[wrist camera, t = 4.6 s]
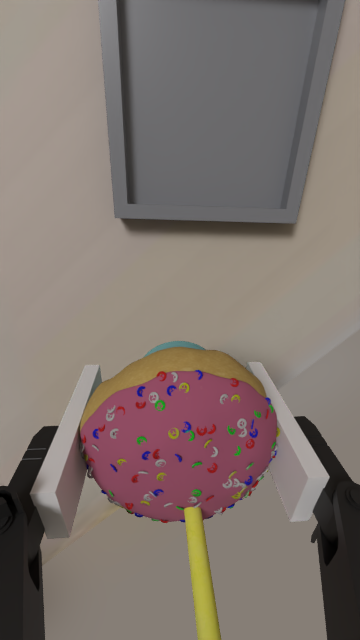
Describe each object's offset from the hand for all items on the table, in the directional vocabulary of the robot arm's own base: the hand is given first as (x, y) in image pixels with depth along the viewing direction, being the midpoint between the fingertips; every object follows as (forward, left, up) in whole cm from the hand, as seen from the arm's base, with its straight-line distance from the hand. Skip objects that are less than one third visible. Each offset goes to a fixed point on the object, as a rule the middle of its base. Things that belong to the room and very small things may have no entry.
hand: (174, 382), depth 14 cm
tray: (+3, +15, -11) cm, 19 cm away
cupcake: (0, 0, -1) cm, 1 cm away
